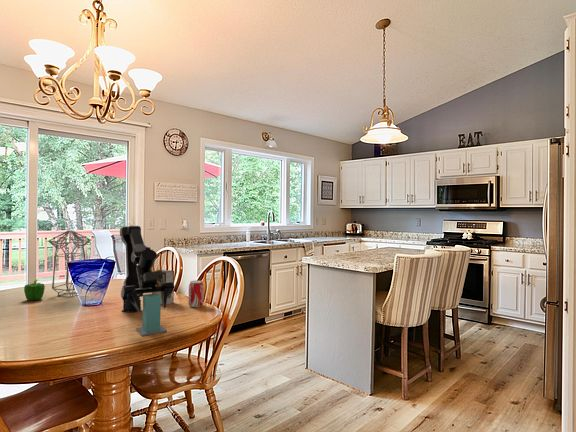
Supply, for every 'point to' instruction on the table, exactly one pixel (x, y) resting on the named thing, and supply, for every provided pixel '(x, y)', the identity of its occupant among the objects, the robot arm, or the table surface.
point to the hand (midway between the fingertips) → (152, 309)
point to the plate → (151, 331)
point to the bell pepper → (34, 291)
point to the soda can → (196, 293)
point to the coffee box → (167, 277)
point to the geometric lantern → (67, 256)
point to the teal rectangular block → (151, 312)
